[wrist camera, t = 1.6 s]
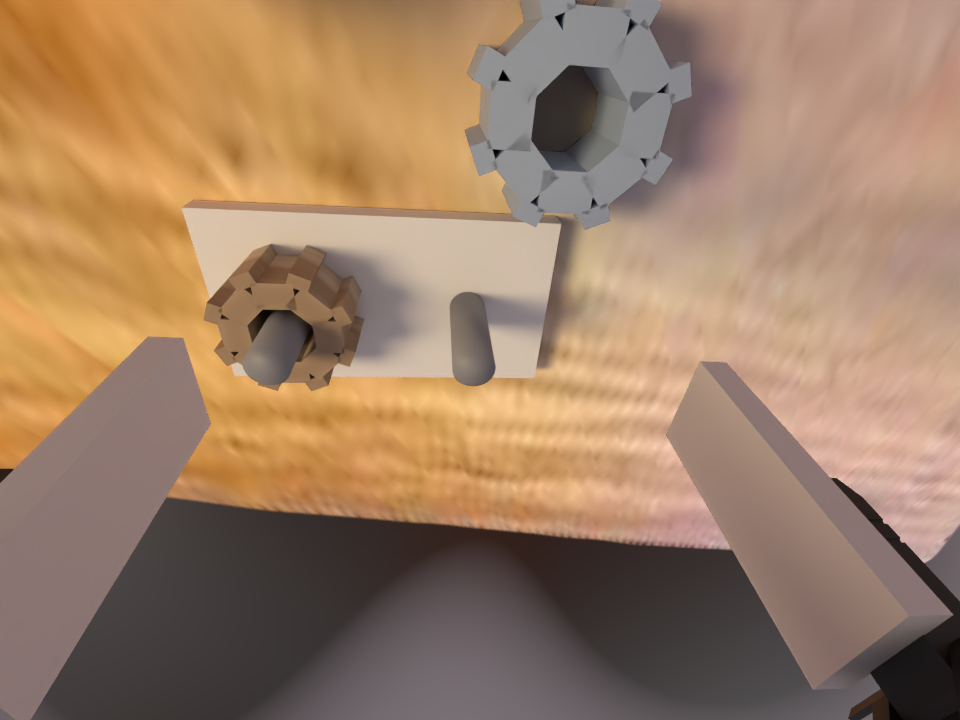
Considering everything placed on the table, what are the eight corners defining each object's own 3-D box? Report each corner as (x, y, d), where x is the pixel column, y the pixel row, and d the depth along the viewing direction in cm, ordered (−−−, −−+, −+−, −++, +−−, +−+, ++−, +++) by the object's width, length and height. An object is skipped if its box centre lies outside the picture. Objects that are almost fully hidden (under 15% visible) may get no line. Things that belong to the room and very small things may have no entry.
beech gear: (217, 241, 27) (186, 269, 23) (357, 246, 27) (346, 274, 24) (249, 354, 31) (227, 390, 28) (367, 355, 32) (359, 391, 29)
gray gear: (471, -19, 22) (478, -32, 18) (671, 1, 23) (722, -8, 19) (461, 197, 28) (465, 224, 24) (621, 205, 29) (651, 232, 25)
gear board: (193, 200, 26) (107, 256, 20) (556, 216, 29) (593, 271, 22) (241, 363, 33) (190, 447, 27) (531, 366, 36) (553, 444, 29)
